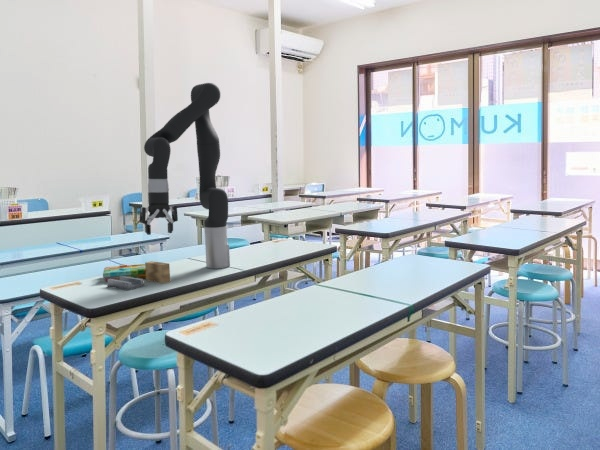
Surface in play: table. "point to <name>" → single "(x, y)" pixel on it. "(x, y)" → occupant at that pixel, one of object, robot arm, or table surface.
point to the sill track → (126, 283)
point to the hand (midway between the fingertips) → (159, 233)
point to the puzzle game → (125, 272)
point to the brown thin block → (157, 272)
